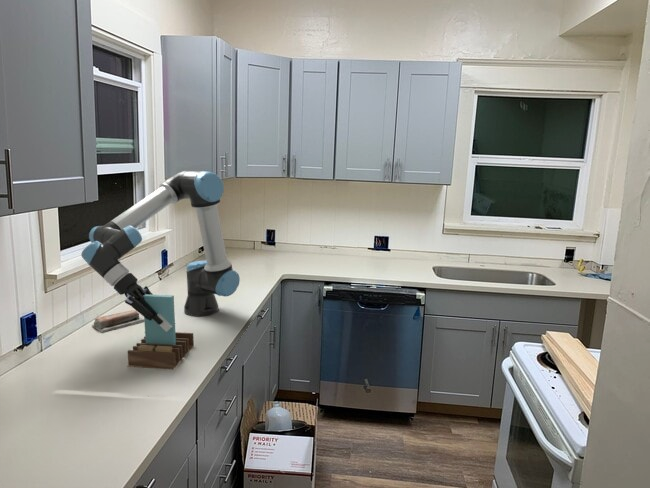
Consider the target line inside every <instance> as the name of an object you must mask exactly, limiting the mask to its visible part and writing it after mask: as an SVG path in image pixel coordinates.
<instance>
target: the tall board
mask: <svg viewBox="0 0 650 488" xmlns="http://www.w3.org/2000/svg"><path fill="white" fill-rule="evenodd" d="M143 297H144V300H145V301H146V302H147V303H148V304H149V305H150V306H151V307H152V309H153V310H154V311H155V312H156V313H157V314H158V313H159V314H160V315H161V316H162V317H163V318H164V319H165V320H166V321H168V322H169V323H170V324H171V325H172V327H171V328H170V329H169V330H168V331H167V332H166V331H165V330H164V329H163V328H162V327H161V326H160V325H159V324H157V323H156V322H155V321H154V320H153V319H152V320H151V321H150V320H149V319H148V320H147V319H146V318H145V317H144V316H143V319H144V322H143V323H144V337H145V339H146V343H151V344H170V345H176V333H175V332H176V324H175V323H176V319H175V317H176V316H175V314H176V313H175V295H172V294H171V295H170V294H169V295H168V294H153V295H150V294H145V295H144V296H143ZM147 316H148V315H147Z"/></svg>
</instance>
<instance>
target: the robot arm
mask: <svg viewBox="0 0 650 488" xmlns="http://www.w3.org/2000/svg"><path fill="white" fill-rule="evenodd" d="M223 193H224V183H223V180H222V179H221V178H220V176H219V175H217V174H216V173H214V172H212V171H208V170H192V169H187V170H182V171H179V172H177V173H176V174H174V175H172V176H171V177H168V179H166V180H164V181H163V182H161V183H160V184H159V188H157V189H156V190H154V191H153V192H151V193H150V194H148V195H147V196H145V197H143V199H141V200H139V201H137V202H136V203H135V204H133V205H132V206H131V207H129V208H128V209H127V210H124V211H123V212H122V213H120V214H119V215H118V216H116V217H114V218H113V219H112V220H110V221H108V222H107V223H106V224H104V225H98V226H94V227H92V228H91V230H90V232H89V233H88V239H89V241H90V243H89V244H88V245H87V246H86V247H84V249H83V250H82V251H81V253H80V254H81V255H80V256H81V258H82V259H83V260H84V261H85V263H87V264H88V266H90V267H91V268H92V269H93V270H94V271H95V272H96V273H97V274H98V275H99V276H101V278H102V279H104V281H106V283H107V284H109V285H110V286H111V287H113V289H114V291H116V292H117V293H118V295H120V296H123V295H125V298H126V299H125V300H124V303H125V304H127V305H129V306H131V308H133V309H134V311H137V312H138V313H139V315H141V316H142V317H143V318H144V317H145V318H146V319H147V320H148V319H149V320H150V321H151V320H152V319H153V320H154V321H155V322H156V323H157V324H159V325H160V326H161V327H162V328H163V329H164V330H165V331H166V332H167V331H168V330H169V329H170V328H171V327H172V325H171V324H170V323H169V322H168V321H166V320H165V319H164V318H163V317H162V316H161V315H160V314H159V313H158V314H157V313H156V312H155V311H154V310H153V309H152V307H151V306H150V305H149V304H148V303H147V302H146V301H145V300H144V297H143V296H144V295H145V294H150V295H154V294H153V292H151V290H150V289H149V287H148V286H144V287H142V286H141V285H140V284H138V278H137V277H136V276H135V275H134V274H133V273H131V272H130V271H129V269H128V268H127V267H125V266H124V265H123V264H122V262H121V261H119V260H120V259H122V258H123V257H125V255H126V254H128V253H129V252H131V251H132V250H133V249H135V248H137V246H139V244H141V243H142V240H143V238H142V234H141V233H140V232H139V230H138V229H137V228H138V227H140V226H141V225H143V224H144V223H145V222H147V221H148V220H150V218H152V217H154V216H155V215H157V214H158V213H160V212H161V211H162V210H164V209H165V208H166V207H167V206H169V205H170V204H177V203H178V202H179V201H182V200H185V199H189V201H190V205H191V208H192V209H194V210H195V211H196V216H197V221H198V226H199V232H200V236H201V241H202V245H203V252H204V256H205V257H204V258H205V259H204V260H198V261H192V262H188V263H187V264H186V284H187V285H186V287H187V296H186V299H185V303H184V308H183V311H184V314H186V315H188V316H191V317H206V316H210V315H214V314H215V313H218V312H219V303H218V301H217V298H216V295H217V296H219V297H229V296H232V295H233V294H235V292H236V291H237V290H238V288H239V285H240V282H241V278H240V275H239V273H238V272H237V271H235V270H233V265H232V261H230V260H229V259H228V258H227V252H226V246H225V241H224V236H223V235H224V234H223V230H222V226H221V220H220V219H221V218H220V214H219V208H218V206H219V205H220V203H221V198H222V197H223ZM147 315H148V316H147ZM175 325H176V322H175Z"/></svg>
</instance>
